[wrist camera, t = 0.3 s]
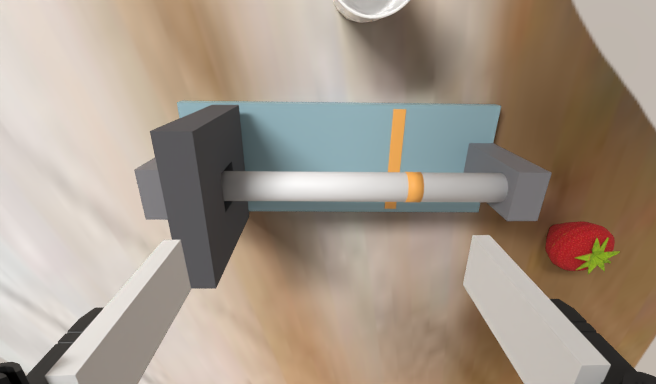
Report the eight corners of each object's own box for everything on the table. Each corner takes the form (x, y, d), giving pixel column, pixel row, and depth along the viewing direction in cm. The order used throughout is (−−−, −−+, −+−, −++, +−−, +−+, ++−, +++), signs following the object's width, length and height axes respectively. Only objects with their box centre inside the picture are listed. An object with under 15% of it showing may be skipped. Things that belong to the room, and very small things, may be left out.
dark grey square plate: (225, 216, 41) (181, 288, 28) (211, 104, 36) (150, 131, 23) (249, 216, 41) (215, 288, 29) (238, 104, 36) (192, 131, 23)
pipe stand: (198, 206, 44) (155, 258, 33) (182, 100, 39) (122, 119, 27) (473, 207, 45) (525, 259, 33) (494, 104, 39) (566, 123, 28)
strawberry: (520, 222, 46) (570, 264, 37) (573, 198, 44) (638, 235, 35) (532, 253, 48) (582, 299, 39) (583, 230, 46) (647, 273, 37)
